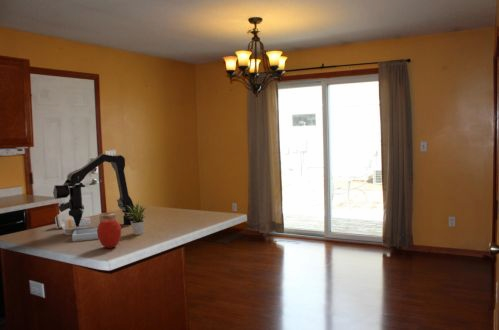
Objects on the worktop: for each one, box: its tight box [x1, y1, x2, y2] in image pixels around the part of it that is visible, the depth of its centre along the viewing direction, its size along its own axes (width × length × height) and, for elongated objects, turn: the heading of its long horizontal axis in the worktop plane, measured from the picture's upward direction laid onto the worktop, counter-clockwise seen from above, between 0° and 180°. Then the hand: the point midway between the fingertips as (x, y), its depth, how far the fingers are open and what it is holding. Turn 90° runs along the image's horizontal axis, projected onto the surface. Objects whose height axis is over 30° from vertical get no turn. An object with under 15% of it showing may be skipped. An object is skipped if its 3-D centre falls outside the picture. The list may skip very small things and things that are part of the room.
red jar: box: [97, 219, 122, 249], centre depth 185 cm, size 10×10×14 cm
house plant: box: [126, 202, 147, 236], centre depth 212 cm, size 14×14×16 cm
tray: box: [71, 228, 99, 242], centre depth 207 cm, size 17×11×3 cm, turn 109°
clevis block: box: [64, 212, 117, 236], centre depth 219 cm, size 25×8×8 cm, turn 109°
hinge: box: [54, 209, 84, 230], centre depth 236 cm, size 17×5×10 cm, turn 153°
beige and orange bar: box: [64, 217, 91, 229], centre depth 217 cm, size 12×4×4 cm, turn 108°
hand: (77, 225), depth 217 cm, fingers closed on beige and orange bar, 4 cm apart
